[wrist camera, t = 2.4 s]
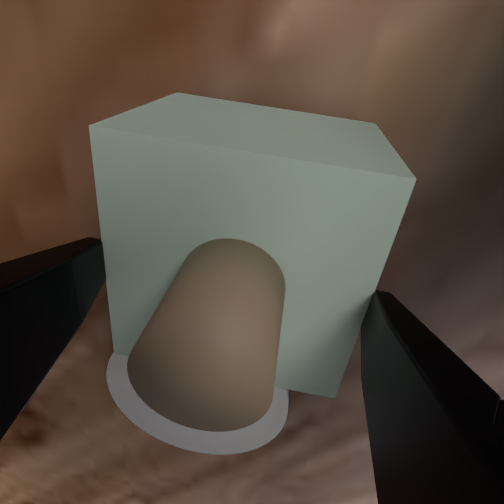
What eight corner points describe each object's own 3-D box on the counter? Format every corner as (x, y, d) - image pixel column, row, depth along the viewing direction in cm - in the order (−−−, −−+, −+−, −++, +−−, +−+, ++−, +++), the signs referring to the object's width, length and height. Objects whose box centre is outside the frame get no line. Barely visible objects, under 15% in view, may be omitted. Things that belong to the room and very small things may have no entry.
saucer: (240, 292, 17) (236, 306, 16) (315, 426, 21) (315, 443, 20) (80, 339, 20) (69, 353, 19) (172, 447, 24) (166, 462, 23)
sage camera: (375, 123, 12) (476, 260, 4) (328, 286, 15) (341, 517, 8) (176, 92, 12) (-33, 170, 5) (174, 258, 15) (51, 450, 8)
